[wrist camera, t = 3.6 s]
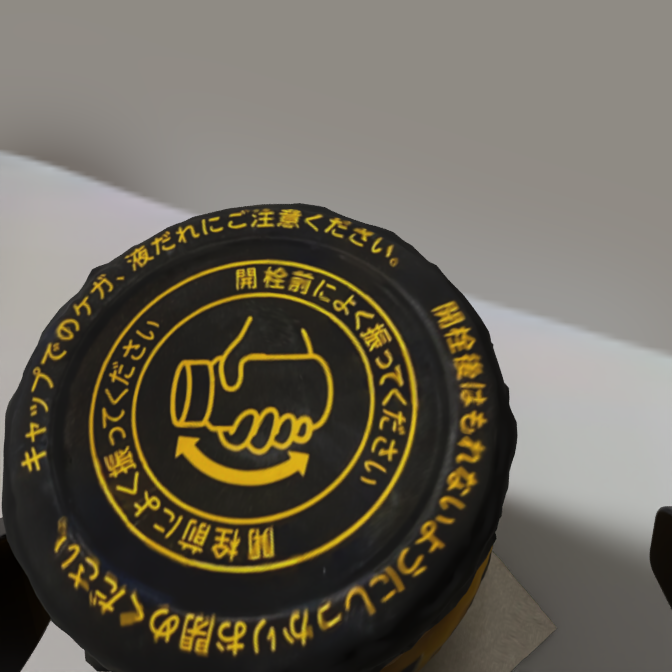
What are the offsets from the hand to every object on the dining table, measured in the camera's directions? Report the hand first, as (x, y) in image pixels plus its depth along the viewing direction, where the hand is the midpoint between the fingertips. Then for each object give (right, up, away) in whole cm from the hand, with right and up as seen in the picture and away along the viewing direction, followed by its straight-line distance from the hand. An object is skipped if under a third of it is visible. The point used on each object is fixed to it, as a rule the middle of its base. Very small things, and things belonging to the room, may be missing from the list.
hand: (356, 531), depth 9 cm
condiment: (0, -4, +7) cm, 8 cm away
